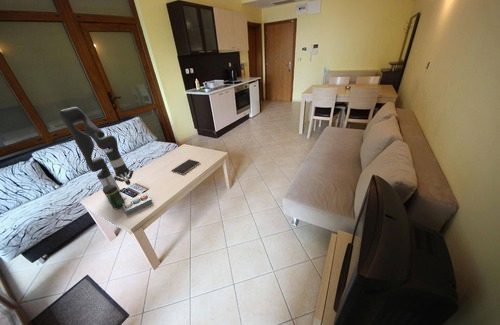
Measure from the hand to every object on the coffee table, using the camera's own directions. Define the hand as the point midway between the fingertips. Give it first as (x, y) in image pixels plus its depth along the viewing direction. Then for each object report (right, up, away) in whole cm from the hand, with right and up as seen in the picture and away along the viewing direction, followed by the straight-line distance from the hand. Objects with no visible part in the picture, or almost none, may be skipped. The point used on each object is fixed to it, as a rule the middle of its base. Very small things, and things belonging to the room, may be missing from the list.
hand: (128, 184), depth 139 cm
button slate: (+2, -16, +8) cm, 18 cm away
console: (+2, -17, +9) cm, 19 cm away
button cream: (-2, -18, +5) cm, 19 cm away
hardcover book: (+24, +10, +53) cm, 59 cm away
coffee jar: (-14, -18, +11) cm, 26 cm away
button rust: (+6, -14, +11) cm, 19 cm away
